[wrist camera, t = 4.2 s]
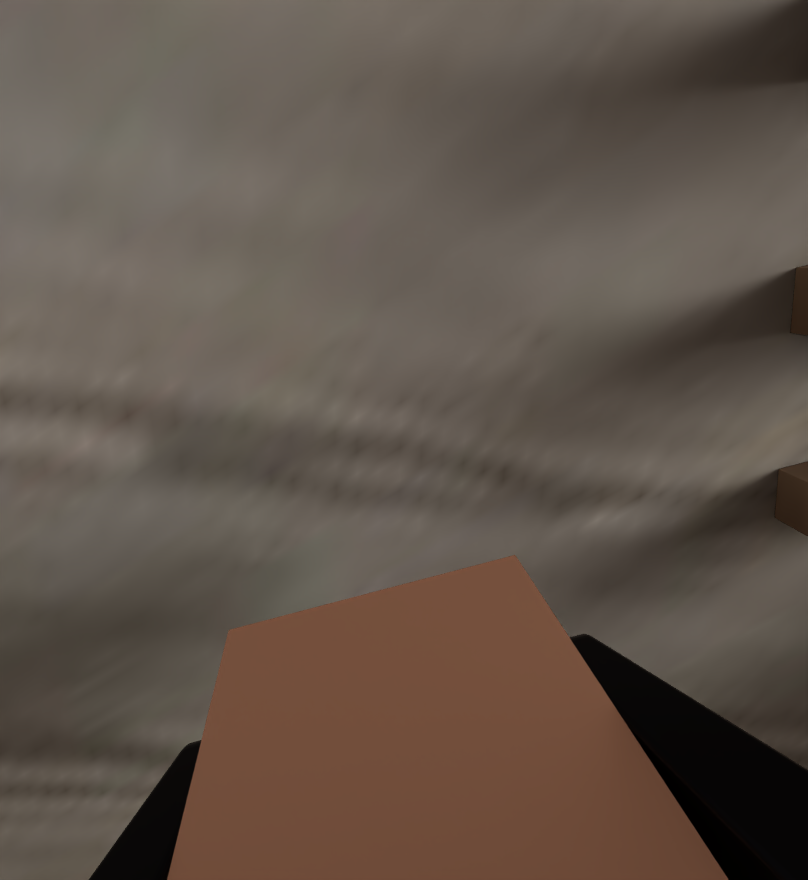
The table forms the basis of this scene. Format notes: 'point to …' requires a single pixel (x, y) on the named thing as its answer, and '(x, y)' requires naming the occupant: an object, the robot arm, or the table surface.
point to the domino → (425, 749)
